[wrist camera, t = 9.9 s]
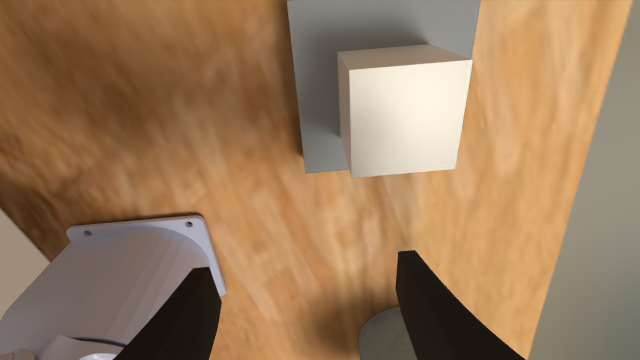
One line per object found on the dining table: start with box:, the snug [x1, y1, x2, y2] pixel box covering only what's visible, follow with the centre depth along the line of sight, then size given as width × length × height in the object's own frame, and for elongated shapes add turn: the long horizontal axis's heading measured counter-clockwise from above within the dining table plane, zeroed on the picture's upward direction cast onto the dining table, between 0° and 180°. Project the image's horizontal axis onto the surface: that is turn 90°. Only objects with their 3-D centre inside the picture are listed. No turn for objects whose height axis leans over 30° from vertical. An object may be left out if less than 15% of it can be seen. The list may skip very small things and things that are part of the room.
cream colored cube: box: [337, 44, 473, 178], centre depth 15 cm, size 5×5×4 cm
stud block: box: [287, 0, 481, 174], centre depth 17 cm, size 9×9×4 cm
